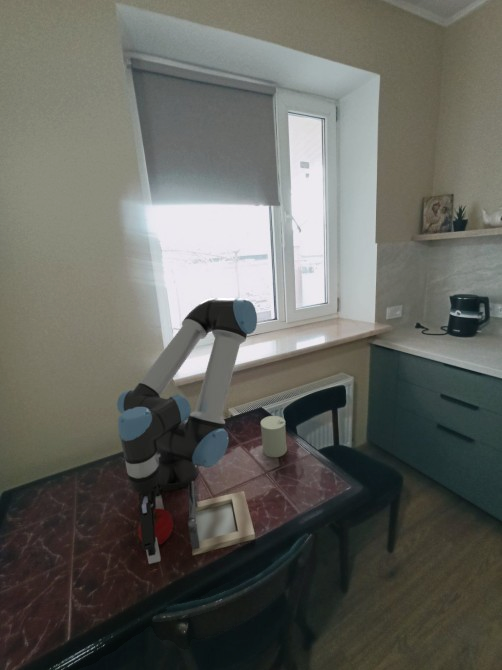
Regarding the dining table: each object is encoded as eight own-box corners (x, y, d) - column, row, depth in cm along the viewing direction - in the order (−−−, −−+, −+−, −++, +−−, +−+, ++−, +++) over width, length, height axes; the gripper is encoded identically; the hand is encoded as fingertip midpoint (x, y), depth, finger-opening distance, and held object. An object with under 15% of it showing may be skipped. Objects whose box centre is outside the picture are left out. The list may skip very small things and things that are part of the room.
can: (288, 456, 106) (286, 427, 103) (262, 458, 106) (260, 429, 103) (285, 441, 115) (284, 413, 112) (262, 442, 115) (260, 415, 112)
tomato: (173, 549, 75) (168, 524, 73) (137, 557, 74) (131, 532, 72) (176, 520, 83) (172, 497, 81) (144, 527, 82) (139, 503, 80)
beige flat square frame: (192, 555, 73) (191, 550, 72) (191, 507, 87) (190, 503, 87) (255, 538, 76) (254, 533, 75) (244, 495, 90) (243, 490, 90)
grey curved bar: (192, 555, 71) (187, 524, 69) (191, 501, 87) (187, 475, 85) (199, 553, 72) (194, 522, 69) (197, 500, 88) (193, 473, 85)
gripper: (154, 504, 62) (169, 580, 67) (163, 437, 85) (173, 498, 91) (116, 512, 60) (134, 589, 66) (136, 442, 84) (148, 503, 89)
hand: (157, 536), depth 78 cm, fingers open, 13 cm apart
